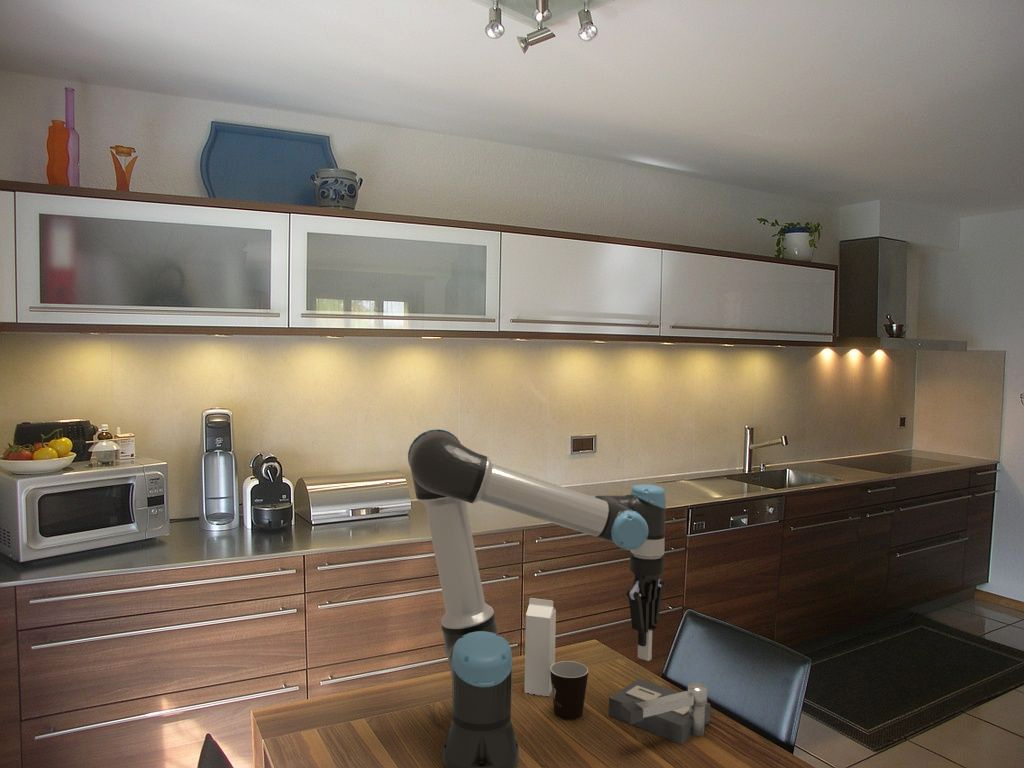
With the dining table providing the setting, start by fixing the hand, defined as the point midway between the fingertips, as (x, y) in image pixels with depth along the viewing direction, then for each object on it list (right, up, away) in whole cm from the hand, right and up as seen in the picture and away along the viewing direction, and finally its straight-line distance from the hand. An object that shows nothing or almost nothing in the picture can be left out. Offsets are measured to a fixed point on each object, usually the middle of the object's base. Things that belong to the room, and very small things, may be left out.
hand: (644, 658), depth 161 cm
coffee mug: (-17, -12, +1) cm, 21 cm away
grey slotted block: (+3, -13, -2) cm, 13 cm away
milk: (-23, -12, +11) cm, 28 cm away
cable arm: (+2, -6, -12) cm, 14 cm away
